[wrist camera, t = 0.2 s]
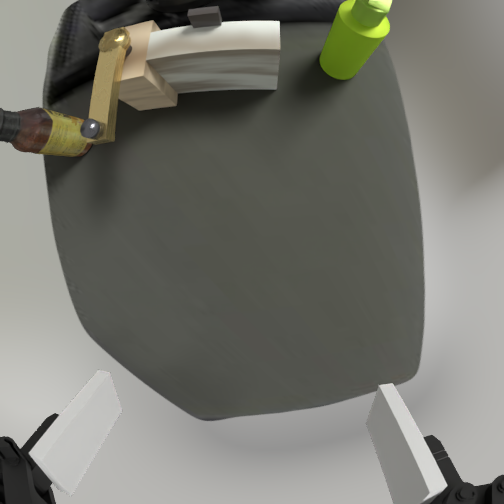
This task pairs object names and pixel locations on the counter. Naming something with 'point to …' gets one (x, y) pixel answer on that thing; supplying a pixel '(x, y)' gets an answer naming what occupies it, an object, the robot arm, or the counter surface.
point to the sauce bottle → (43, 132)
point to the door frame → (198, 58)
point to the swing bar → (106, 87)
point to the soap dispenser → (354, 36)
